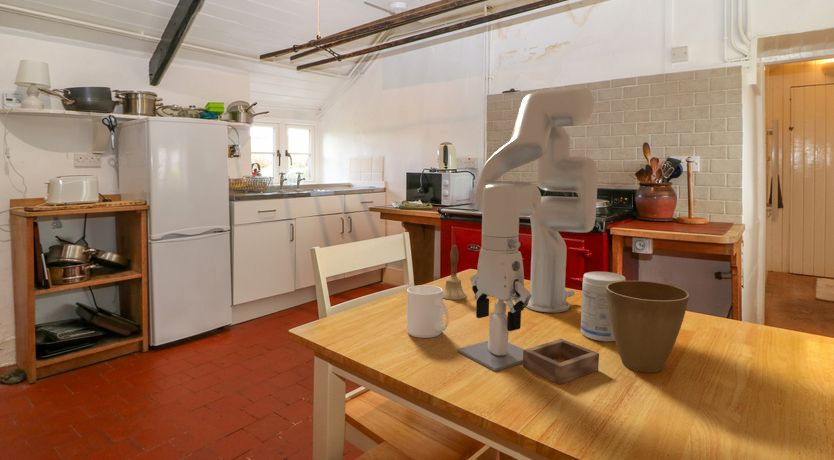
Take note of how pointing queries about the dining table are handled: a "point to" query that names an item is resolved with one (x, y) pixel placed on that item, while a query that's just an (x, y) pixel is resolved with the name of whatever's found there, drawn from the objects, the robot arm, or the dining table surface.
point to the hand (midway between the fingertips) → (497, 323)
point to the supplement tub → (597, 305)
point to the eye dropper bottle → (498, 330)
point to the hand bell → (453, 279)
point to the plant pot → (645, 321)
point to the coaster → (493, 356)
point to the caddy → (575, 366)
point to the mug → (425, 311)
